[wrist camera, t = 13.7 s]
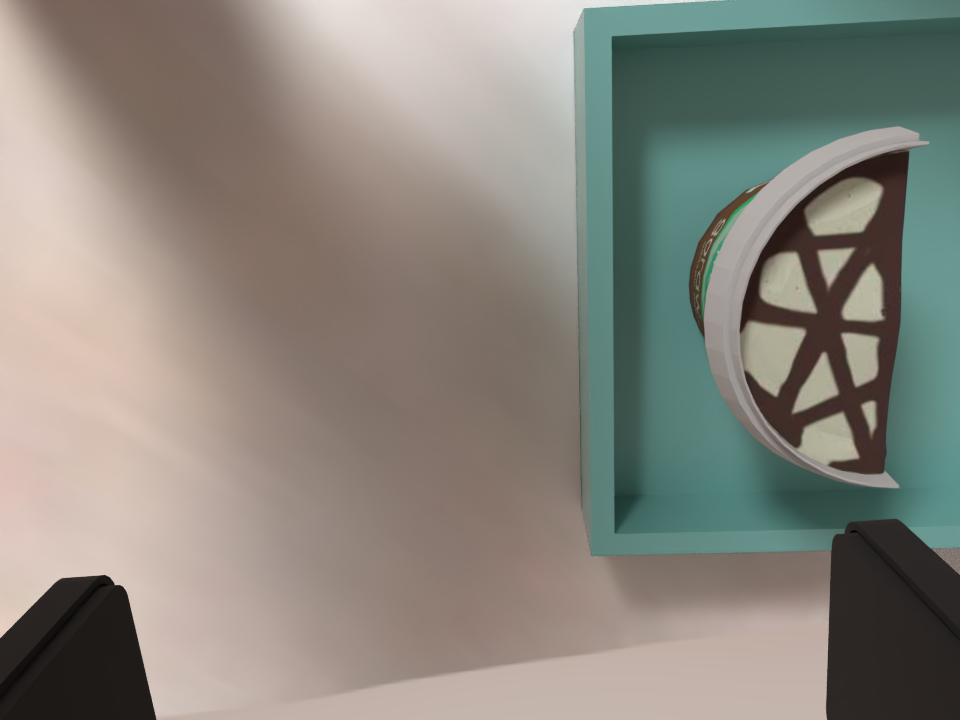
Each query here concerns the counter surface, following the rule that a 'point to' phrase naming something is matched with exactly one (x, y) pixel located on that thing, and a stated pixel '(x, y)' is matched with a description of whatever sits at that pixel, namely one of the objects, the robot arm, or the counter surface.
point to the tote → (685, 218)
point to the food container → (811, 304)
